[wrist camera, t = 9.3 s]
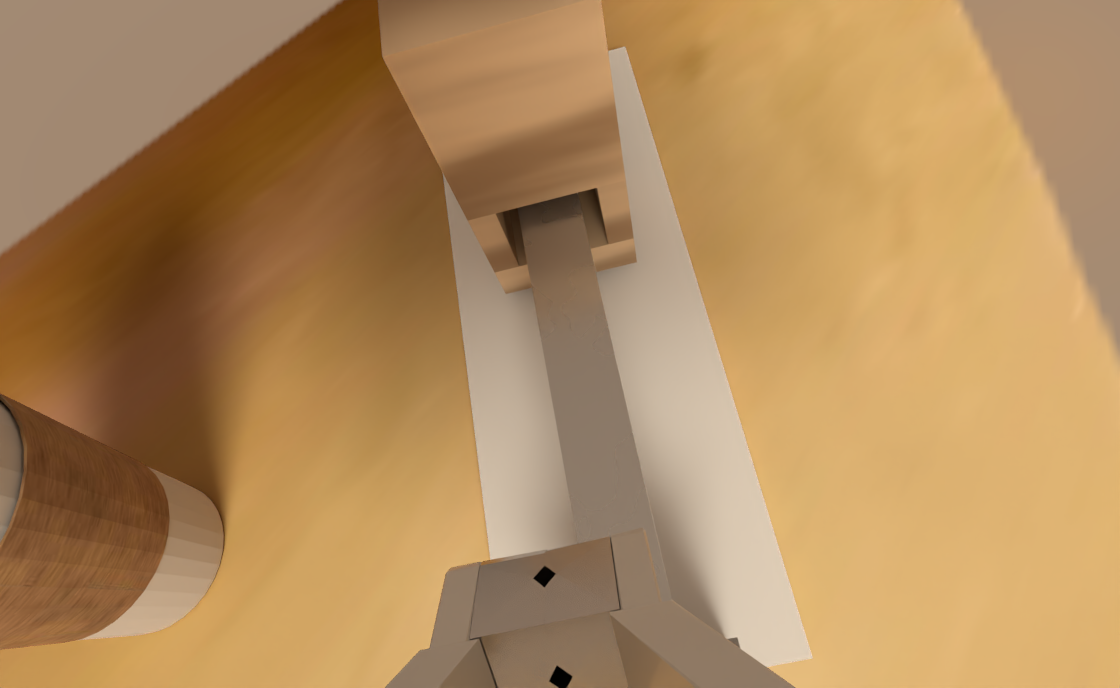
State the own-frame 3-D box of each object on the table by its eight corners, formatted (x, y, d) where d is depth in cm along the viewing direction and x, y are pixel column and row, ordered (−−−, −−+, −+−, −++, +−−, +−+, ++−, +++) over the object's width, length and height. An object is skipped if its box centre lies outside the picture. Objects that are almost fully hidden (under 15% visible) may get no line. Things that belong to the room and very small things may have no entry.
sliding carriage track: (733, 672, 22) (748, 681, 16) (586, 699, 23) (550, 718, 17) (578, 71, 34) (555, -48, 28) (484, 97, 35) (442, -16, 29)
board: (808, 658, 22) (812, 658, 21) (515, 713, 23) (509, 715, 22) (626, 59, 34) (625, 46, 34) (438, 109, 35) (433, 98, 34)
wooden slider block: (636, 262, 28) (600, -5, 16) (505, 294, 28) (382, 57, 17) (612, 168, 30) (564, -125, 19) (490, 199, 30) (372, -68, 19)
